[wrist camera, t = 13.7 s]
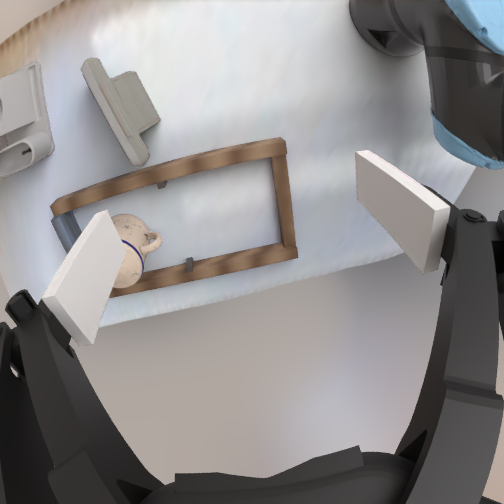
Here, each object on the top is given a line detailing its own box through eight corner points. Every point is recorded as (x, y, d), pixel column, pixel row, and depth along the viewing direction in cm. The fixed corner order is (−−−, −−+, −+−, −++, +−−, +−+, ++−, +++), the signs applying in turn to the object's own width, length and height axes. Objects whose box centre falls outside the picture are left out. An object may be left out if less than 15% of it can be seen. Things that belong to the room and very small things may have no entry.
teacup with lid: (116, 261, 49) (100, 305, 40) (95, 220, 44) (71, 259, 35) (174, 245, 49) (168, 289, 40) (155, 200, 44) (142, 236, 35)
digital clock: (88, 73, 31) (55, 74, 22) (142, 50, 31) (122, 41, 22) (116, 165, 40) (93, 190, 31) (169, 148, 40) (158, 168, 31)
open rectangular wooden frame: (280, 137, 42) (288, 143, 38) (293, 248, 54) (300, 262, 50) (57, 198, 41) (46, 210, 37) (102, 290, 53) (97, 305, 49)
